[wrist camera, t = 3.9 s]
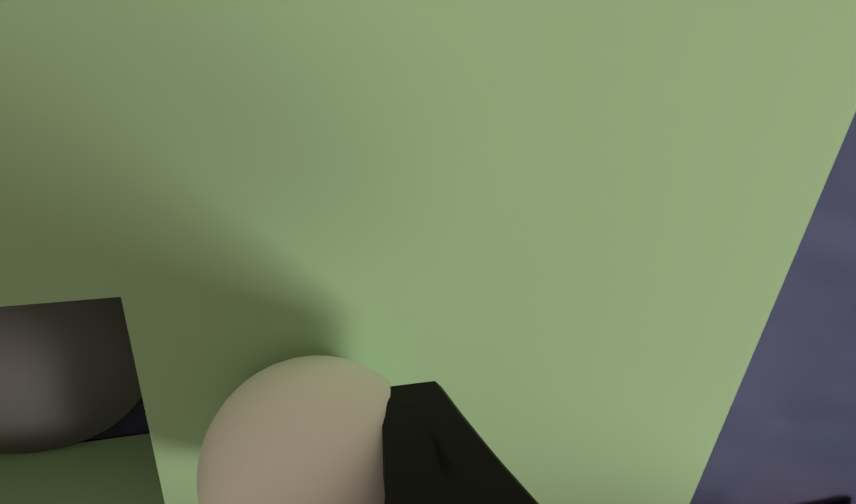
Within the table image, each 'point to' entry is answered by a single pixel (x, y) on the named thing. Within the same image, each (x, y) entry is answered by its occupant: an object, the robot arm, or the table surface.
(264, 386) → the ball
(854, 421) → the table surface
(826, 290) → the table surface
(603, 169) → the putting mat
